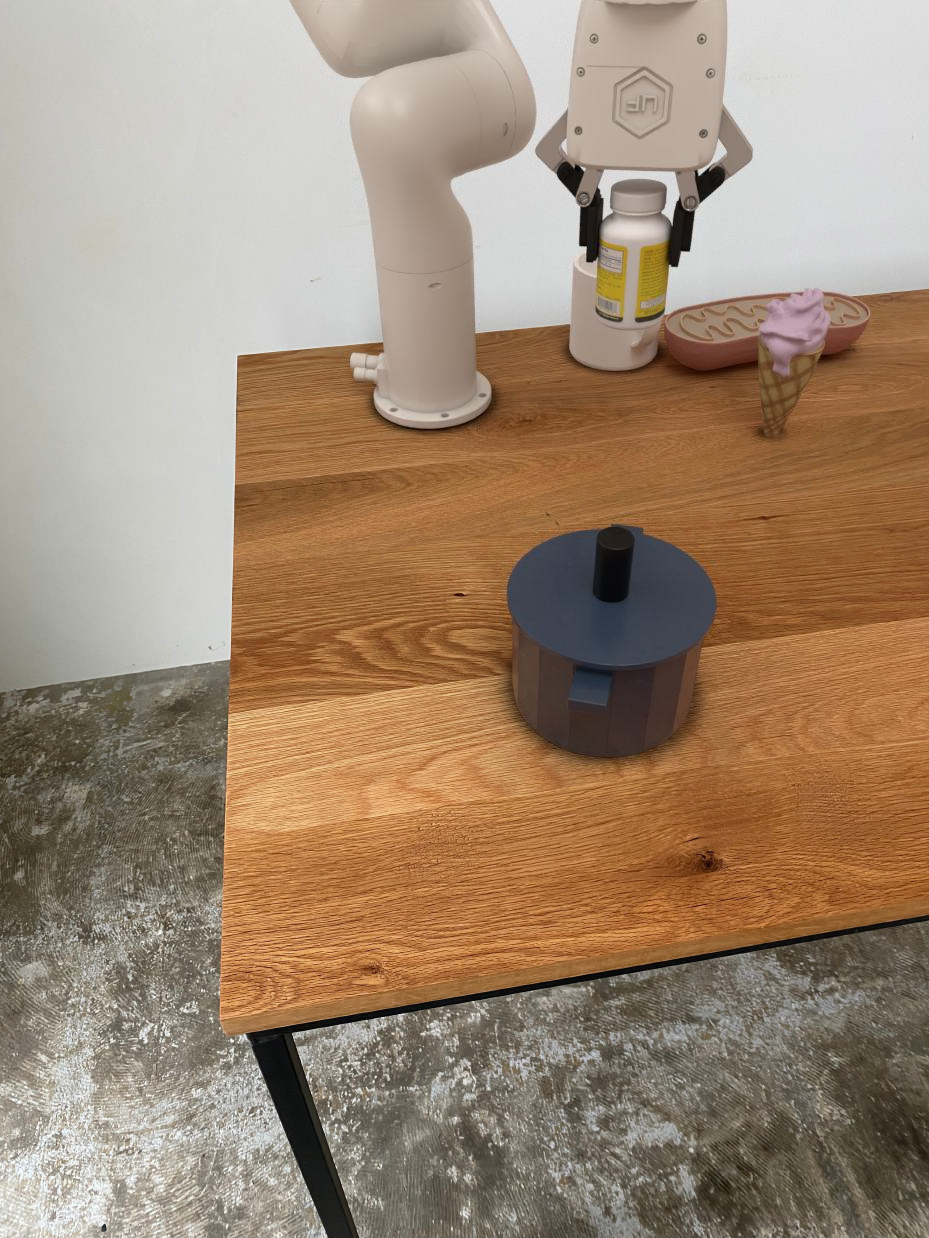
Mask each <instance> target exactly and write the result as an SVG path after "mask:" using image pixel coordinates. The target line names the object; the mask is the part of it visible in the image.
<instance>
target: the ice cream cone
mask: <svg viewBox="0 0 929 1238" xmlns="http://www.w3.org/2000/svg"><path fill="white" fill-rule="evenodd" d="M822 291H823V290H821V289H820V288H818V287H815V288H813V289H812V288H810V287H806V288H804V291H803V292H804V293H803V295H802V296H800V295H797V294H791V295H790V299H787V300H785V301H781V300H779V299H774V300H772V301H771V302H770V303H769V304H767V305H766V306H765V307H766V310H767V311H768V312H769V316H768V318H767V320H766V321H765V322H762V324H760V326H759V332H760V334H759V337H758V360H757V367H758V368H757V369H758V370H757V371H758V387H759V388H758V389H759V396H760V397H759V398H760V399H759V400H760V409H761V418H762V426H763V435H764V436H765V437H767V438H771V439H775V438H778V436H779V434H780V433H781V432H782V430H783V428H784V427H785V425H786V423H787V422H788V419H789V418H790V416H791V414H792V412H793V411H794V409H795V407H796V406H797V404H798V402H799V400H800V398H801V396H802V394H803V392H804V391H805V389H806V387H807V385H808V383H809V381H810V379H811V377H812V375H813V373H814V371H815V368H816V367H817V364H818V361H819V359H820V358H821V356H822V355H821V353H822V351H823V349H824V346H825V341H824V338H825V336H826V334H827V330H828V328H829V325H830V322H831V319H830V315H829V314H828V313H827V312H826V311H825V310H824V305H823V298H824V295H823V293H822Z"/></svg>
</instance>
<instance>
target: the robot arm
mask: <svg viewBox="0 0 929 1238" xmlns="http://www.w3.org/2000/svg"><path fill="white" fill-rule="evenodd" d="M288 1H289V3H290V4H291V7H292V8H293V10H294V12H295V14H296V16H297V18H298V19H299V20H300V22H301V24H302V25H303V28H304V29H305V31H306V33H307V35H308V37H309V39H310V41H311V42H312V44H313V45H314V47H315V48H316V50H317V52H318V54H319V55H320V56H321V58H322V59H323V61H324V62H325V63H326V65H327V66H328V67H329V68H330V69H331V70H332V71H333V72H334V73H336V74H337V75H339V76H341V77H344V78H347V79H348V78H349V79H351V78H352V79H363V78H368V77H369V79H368V80H367V81H366V82H364V84H363V85H361V87H359V89H358V91H357V92H356V94H355V96H354V98H353V100H352V103H351V107H350V111H349V131H350V136H351V137H350V138H351V142H352V146H353V151H354V154H355V157H356V160H357V164H358V168H359V173H360V176H361V180H362V182H363V187H364V192H365V196H366V197H365V198H366V202H367V208H368V213H369V219H370V228H371V236H372V245H373V256H374V261H375V262H374V263H375V273H376V284H377V294H378V304H379V314H380V325H381V326H380V327H381V334H382V345H383V346H382V347H383V352H380V353H379V354H378V355H374V354H370V353H364V352H363V353H361V352H352V353H351V355H350V358H349V366H350V370H351V371H352V372H353V373H352V374H353V380H354V381H355V382H356V381H357V382H373V383H374V385H375V387H374V390H373V403H374V407H375V410H376V411H377V412H378V413H379V415H381V416H382V417H383V418H385V419H386V420H388V421H389V422H391V423H394V424H396V425H399V426H403V427H406V428H411V429H413V428H414V429H419V430H420V429H421V430H424V429H425V430H434V429H445V428H449V427H456V426H458V425H462V424H465V423H467V422H470V421H471V420H474V419H476V418H477V417H478V416H480V415H482V414H483V413H484V412H485V411H486V410H487V409H488V408H489V406H490V404H491V401H492V396H493V395H492V385H491V383H490V381H489V380H488V379H487V377H486V376H485V375H484V374H482V373H481V372H479V371H478V370H477V339H476V335H477V333H476V300H475V299H476V298H475V295H476V294H475V260H474V259H475V258H474V236H473V229H472V225H471V222H470V218H469V217H468V213H467V212H466V210H465V209H464V207H463V205H462V204H461V203H460V201H459V199H458V198H457V196H456V195H455V193H454V191H453V189H452V181H453V179H455V178H458V177H461V176H463V175H466V174H468V173H471V172H474V171H477V170H481V169H484V168H487V167H489V166H493V165H497V164H499V163H502V162H505V161H507V160H510V159H512V158H513V157H515V156H517V155H518V154H520V153H521V152H522V151H523V150H524V149H525V148H526V147H527V146H528V144H529V143H530V141H531V139H532V137H533V136H534V132H535V129H536V125H537V102H536V96H535V95H536V94H535V90H534V88H533V83H532V81H531V78H530V75H529V73H528V70H527V68H526V66H525V64H524V62H523V60H522V58H521V56H520V54H519V51H518V50H517V49H516V47H515V45H514V43H513V42H512V40H511V37H510V36H509V34H508V32H507V30H506V28H505V27H504V25H503V23H502V21H501V20H500V18H499V16H498V14H497V12H496V10H495V8H494V6H493V5H492V3H491V1H490V0H288ZM727 53H728V3H727V0H581V2H580V6H579V11H578V15H577V21H576V27H575V34H574V41H573V49H572V56H571V57H572V58H571V68H570V78H569V91H568V101H567V102H568V105H567V107H566V109H565V110H564V111H563V112H562V114H560V115H559V117H558V118H557V119H556V121H555V122H554V123H553V124H552V126H551V127H550V128H549V129H548V131H547V132H546V133H545V134H544V136H543V137H542V138H541V139H540V140H539V142H538V143H537V145H536V147H535V149H534V153H535V155H536V157H537V158H538V159H539V160H540V161H541V162H542V163H543V164H544V165H545V166H546V167H547V168H548V169H549V170H550V171H551V172H553V173H554V174H555V175H556V177H557V179H558V180H559V181H560V182H561V184H562V185H564V187H565V188H566V190H568V191H569V193H570V194H571V195H572V196H573V197H574V198H575V202H576V204H577V206H579V227H578V228H579V229H578V231H579V232H578V233H579V234H578V247H581V248H582V247H584V248H586V249H585V250H586V262H588V263H593V262H594V261H596V260H597V257H598V242H599V229H600V224H601V222H602V221H603V219H604V203H605V202H604V201H605V199H604V197H602V194H601V189H600V187H599V185H600V183H601V180H602V178H603V174H604V171H605V170H608V171H635V172H665V173H669V172H670V173H672V172H673V173H674V175H675V180H676V184H677V189H678V192H679V196H678V199H677V200H676V202H675V206H674V210H673V216H672V223H671V224H672V233H671V243H670V253H669V263H668V265H669V266H670V267H671V268H679V265H680V260H681V255H682V252H683V253H685V252H686V253H690V252H691V247H692V241H693V232H694V224H695V214H696V210H697V209H698V208H699V206H700V205H701V203H703V202H704V201H705V200H706V199H707V198H709V197H710V196H711V195H713V193H714V192H715V191H717V190H718V189H719V188H720V187H721V186H722V185H724V182H726V181H727V180H728V179H730V178H731V177H733V176H734V175H735V174H737V173H738V172H740V171H741V170H742V169H743V168H744V167H746V166H747V165H748V164H749V163H750V162H751V161H752V159H753V157H754V148H753V146H752V144H751V143H750V141H749V140H748V138H747V137H746V135H745V133H744V132H743V131H742V129H741V128H740V127H739V125H738V123H737V122H736V121H735V119H734V117H733V116H732V114H731V113H730V112H729V110H728V109H727V107H726V105H725V104H724V92H725V84H726V83H725V81H726V70H727V57H728V56H727V55H728V54H727ZM370 77H371V78H370ZM565 140H566V141H565ZM564 141H565V142H566V144H565V145H566V151H565V150H564V148H563V145H562V144H563V142H564ZM719 142H720V143H721V144H722V145H723V147H724V148H725V150H726V153H725V154H724V155H723V156H721V158H719V160H716V162H713V163H712V164H711V165H710V166H708V165H709V164H710V163H711V162H712V161H713V158H714V156H715V155H716V151H717V146H718V143H719ZM707 166H708V167H707ZM705 167H707V168H706V169H705V170H704V171H703V172H702V173H700V172H699V170H702V169H703V168H705ZM583 168H584V169H583Z"/></svg>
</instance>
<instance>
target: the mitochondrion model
mask: <svg viewBox="0 0 929 1238" xmlns="http://www.w3.org/2000/svg"><path fill="white" fill-rule="evenodd" d="M821 291H822V293H823V295H824V298H823V305H824V310H825V311H826V312H827V313H828V314H829V315H830V319H831V322H830V325H829V328H828V330H827V334H826V336H825V338H824V341H825V346H824V349H823V351H822V353H821V355H820V356H828V355H833V354H837V353H839V352H842V351H844V350H846V349H847V348H849V347H851V346H852V345H853V344H854V343H856V341H858V340H859V339H860V337H861V336H862V335H863V334H864V332H865V330H866V329H867V326H868V325H869V322H870V318H871V316H872V315H871V314H872V313H871V309H870V308H869V307H868V305H867V304H866V303H864V302H862V301H861V300H859V299H858V298H856V297H853V296H850V295H847V294H843V293H839V292H834V291H823V290H821ZM803 293H804V291H793V292H792V291H791V292H790V291H789V292H776V293H763V294H751V295H745V296H737V297H731V298H723V299H718V300H713V301H709V302H708V301H707V302H702V303H698V304H694V305H693V304H692V305H689V306H688V305H687V306H683V307H680V308H678V309H674V310H672V312H670V313H669V314H668V315H667V316H666V317H665V319H664V325H663V326H664V327H663V330H664V331H663V334H664V335H663V336H664V341H665V345H666V347H667V349H668V350H669V352H670V354H671V355H672V356H673V358H675V359H676V360H677V362H679V363H680V364H681V365H683V366H685V367H687V368H689V369H692V370H696V371H712V370H717V369H720V368H726V367H730V366H735V365H740V364H745V363H751V362H758V337H759V334H760V332H759V326H760V324H762V322H765V321H766V320H767V318H768V316H769V312H768V311H767V310H766V307H765V306H766V305H767V304H769V303H770V302H771V301H772V300H774V299H779V300H781V301H785V300H787V299H790V295H791V294H797V295H800V296H802V295H803Z"/></svg>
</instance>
